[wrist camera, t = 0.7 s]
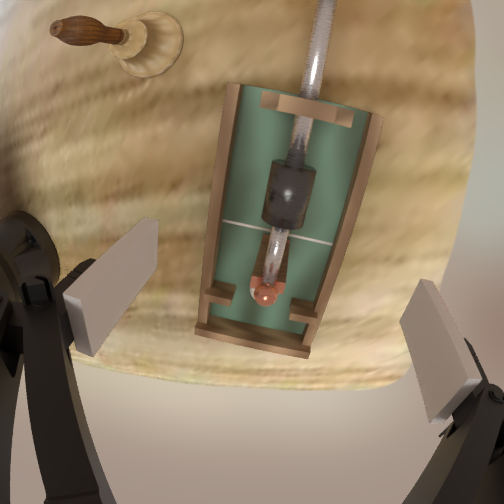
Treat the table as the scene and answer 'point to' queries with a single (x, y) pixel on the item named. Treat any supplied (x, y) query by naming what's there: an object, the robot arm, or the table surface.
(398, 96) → the table surface
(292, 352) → the pitch
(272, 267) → the kicker
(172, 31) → the hand bell
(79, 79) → the table surface
